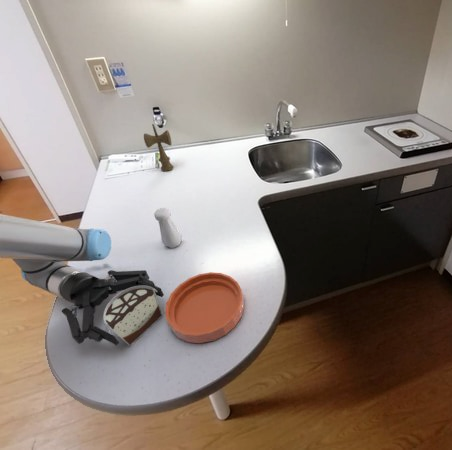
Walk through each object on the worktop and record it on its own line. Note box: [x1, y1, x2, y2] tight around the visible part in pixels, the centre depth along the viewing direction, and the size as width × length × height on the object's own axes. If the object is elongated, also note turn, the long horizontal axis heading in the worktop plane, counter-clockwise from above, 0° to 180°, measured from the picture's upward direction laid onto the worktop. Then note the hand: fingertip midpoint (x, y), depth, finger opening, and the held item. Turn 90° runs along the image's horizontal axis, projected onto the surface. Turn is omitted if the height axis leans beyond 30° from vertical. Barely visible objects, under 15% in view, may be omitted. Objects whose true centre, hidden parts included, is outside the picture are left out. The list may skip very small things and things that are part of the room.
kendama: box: [143, 123, 174, 172], centre depth 126 cm, size 6×10×20 cm, turn 107°
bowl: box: [164, 271, 245, 344], centre depth 76 cm, size 18×18×4 cm
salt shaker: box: [153, 207, 183, 249], centre depth 92 cm, size 6×6×13 cm
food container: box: [102, 285, 164, 347], centre depth 71 cm, size 12×6×10 cm, turn 149°
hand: (140, 315), depth 70 cm, fingers open, 13 cm apart
